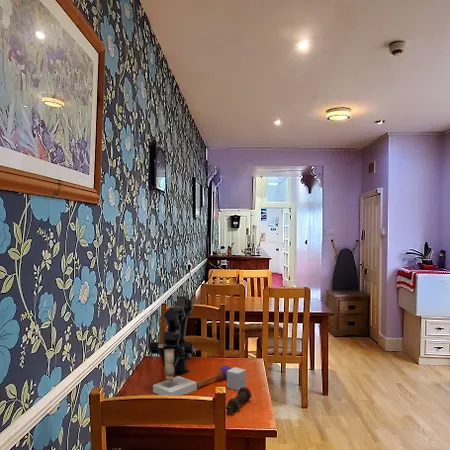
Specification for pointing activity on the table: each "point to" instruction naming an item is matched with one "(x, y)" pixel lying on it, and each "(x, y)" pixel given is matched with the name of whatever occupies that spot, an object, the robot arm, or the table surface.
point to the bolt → (238, 400)
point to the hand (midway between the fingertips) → (168, 366)
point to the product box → (236, 378)
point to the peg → (169, 364)
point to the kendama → (219, 375)
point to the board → (175, 386)
